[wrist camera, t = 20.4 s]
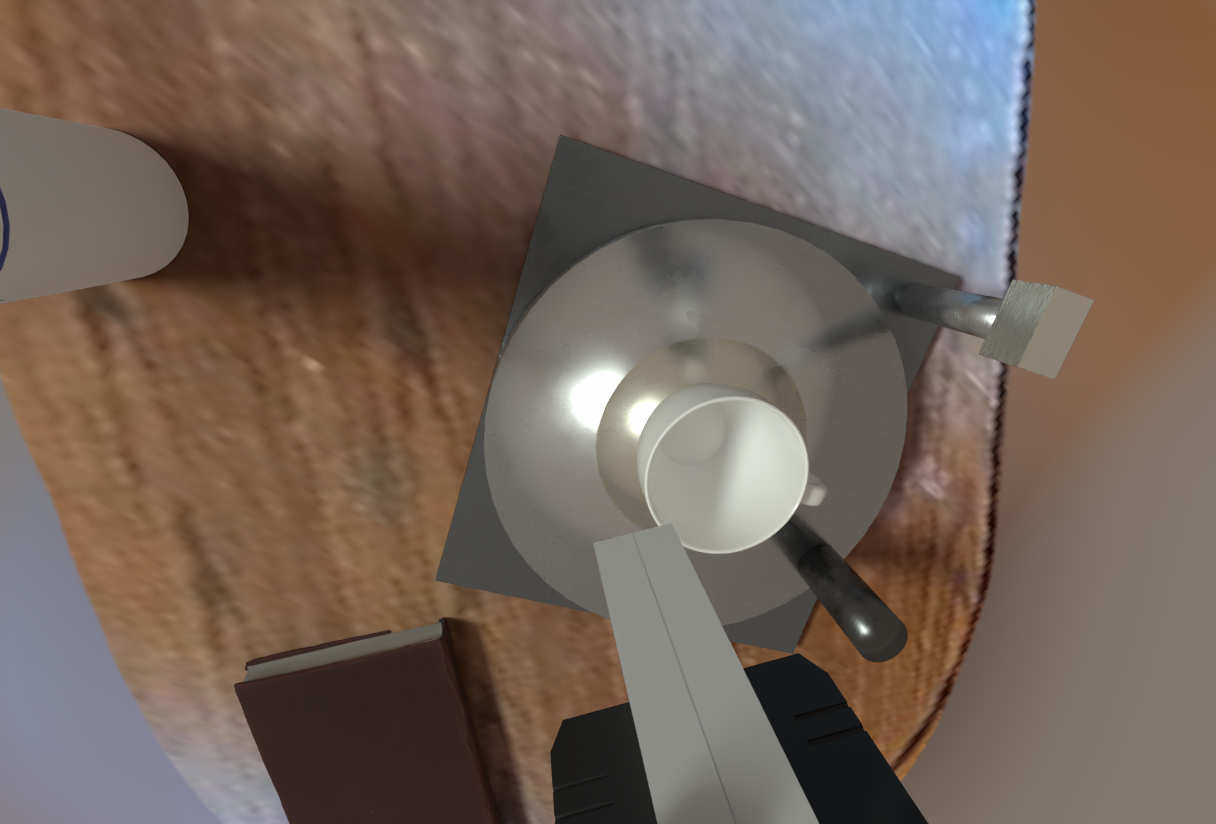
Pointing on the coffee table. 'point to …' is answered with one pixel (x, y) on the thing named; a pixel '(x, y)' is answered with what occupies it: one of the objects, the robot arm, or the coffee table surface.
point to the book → (369, 731)
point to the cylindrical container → (82, 207)
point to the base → (642, 196)
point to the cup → (723, 467)
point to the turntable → (686, 355)
